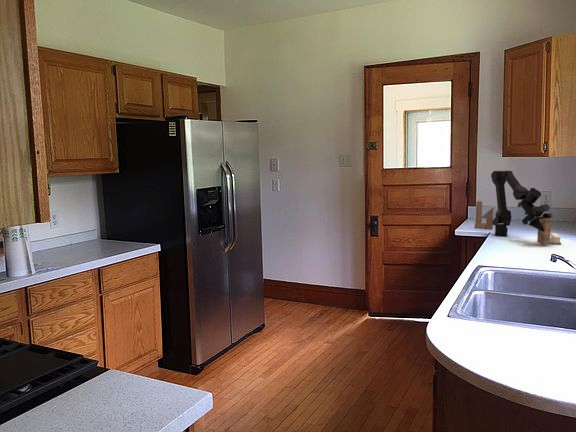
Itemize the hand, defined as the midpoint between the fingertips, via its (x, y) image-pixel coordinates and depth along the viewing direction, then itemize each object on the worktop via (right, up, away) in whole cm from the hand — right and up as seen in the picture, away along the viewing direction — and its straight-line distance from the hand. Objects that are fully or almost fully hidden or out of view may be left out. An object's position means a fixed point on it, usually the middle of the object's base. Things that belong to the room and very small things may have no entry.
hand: (546, 230), depth 267 cm
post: (-1, -6, +2) cm, 7 cm away
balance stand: (+8, -6, +13) cm, 16 cm away
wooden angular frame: (-10, -1, +62) cm, 62 cm away
